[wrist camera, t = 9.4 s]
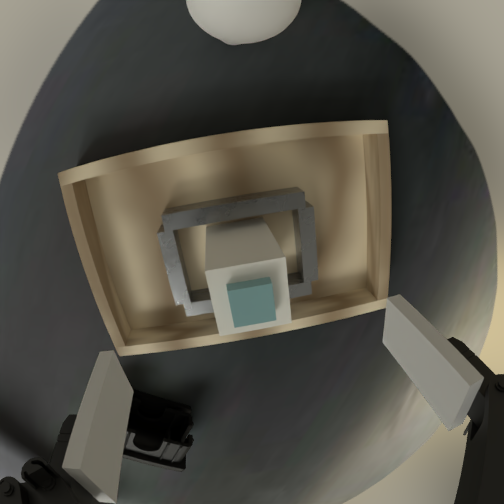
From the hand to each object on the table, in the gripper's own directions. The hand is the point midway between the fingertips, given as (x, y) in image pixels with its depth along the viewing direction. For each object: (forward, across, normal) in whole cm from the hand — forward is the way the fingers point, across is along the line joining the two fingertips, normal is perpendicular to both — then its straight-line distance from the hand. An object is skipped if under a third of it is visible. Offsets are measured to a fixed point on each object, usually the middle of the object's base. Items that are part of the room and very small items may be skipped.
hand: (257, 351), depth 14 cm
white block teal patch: (+12, 0, 0) cm, 12 cm away
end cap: (+14, -13, -19) cm, 27 cm away
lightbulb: (+13, +3, +17) cm, 22 cm away
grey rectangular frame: (+12, +1, 0) cm, 12 cm away
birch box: (+13, +1, +1) cm, 13 cm away
